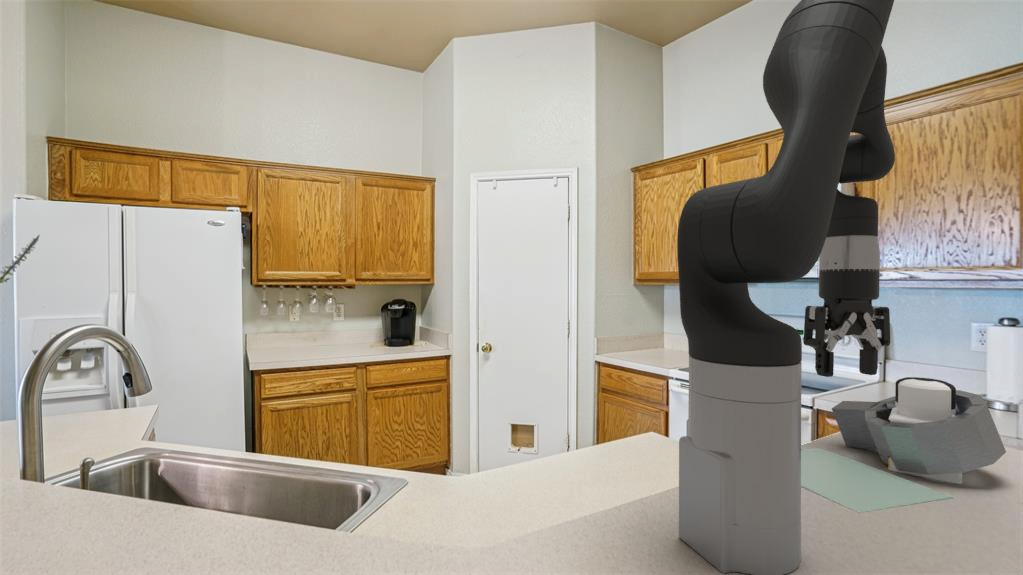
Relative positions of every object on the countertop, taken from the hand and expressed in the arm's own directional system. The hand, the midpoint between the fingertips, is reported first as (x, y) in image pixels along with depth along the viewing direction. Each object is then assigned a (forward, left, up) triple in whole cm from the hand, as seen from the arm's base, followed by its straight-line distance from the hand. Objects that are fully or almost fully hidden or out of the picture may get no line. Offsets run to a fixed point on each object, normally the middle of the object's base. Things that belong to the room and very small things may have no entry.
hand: (846, 375), depth 73 cm
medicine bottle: (+1, -10, -11) cm, 15 cm away
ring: (+2, -11, -8) cm, 14 cm away
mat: (-13, -9, -11) cm, 19 cm away
